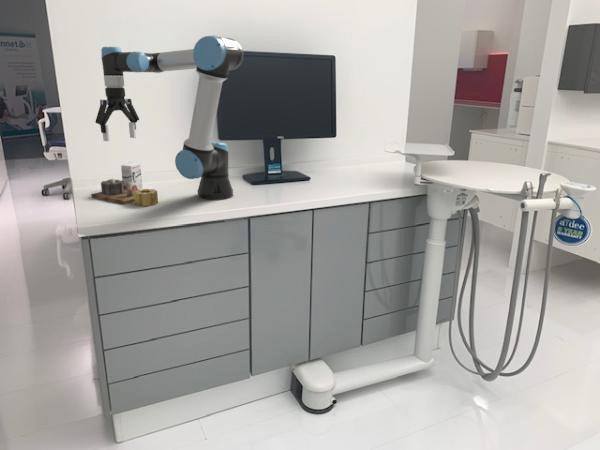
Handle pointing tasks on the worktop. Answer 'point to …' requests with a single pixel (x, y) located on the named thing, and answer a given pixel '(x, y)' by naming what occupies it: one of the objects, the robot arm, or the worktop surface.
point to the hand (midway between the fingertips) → (120, 139)
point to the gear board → (115, 192)
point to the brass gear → (146, 197)
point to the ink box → (132, 175)
